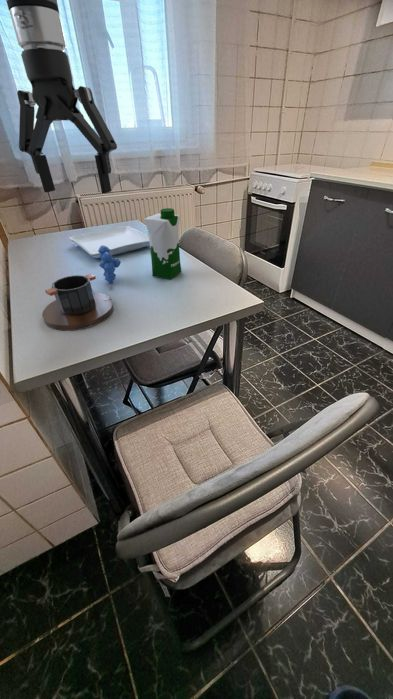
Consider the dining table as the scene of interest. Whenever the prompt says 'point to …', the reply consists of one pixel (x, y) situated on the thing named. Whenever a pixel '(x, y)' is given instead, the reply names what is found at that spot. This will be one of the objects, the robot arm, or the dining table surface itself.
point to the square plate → (112, 240)
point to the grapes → (108, 263)
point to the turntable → (79, 321)
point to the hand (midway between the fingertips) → (77, 192)
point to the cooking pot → (73, 294)
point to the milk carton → (164, 243)
